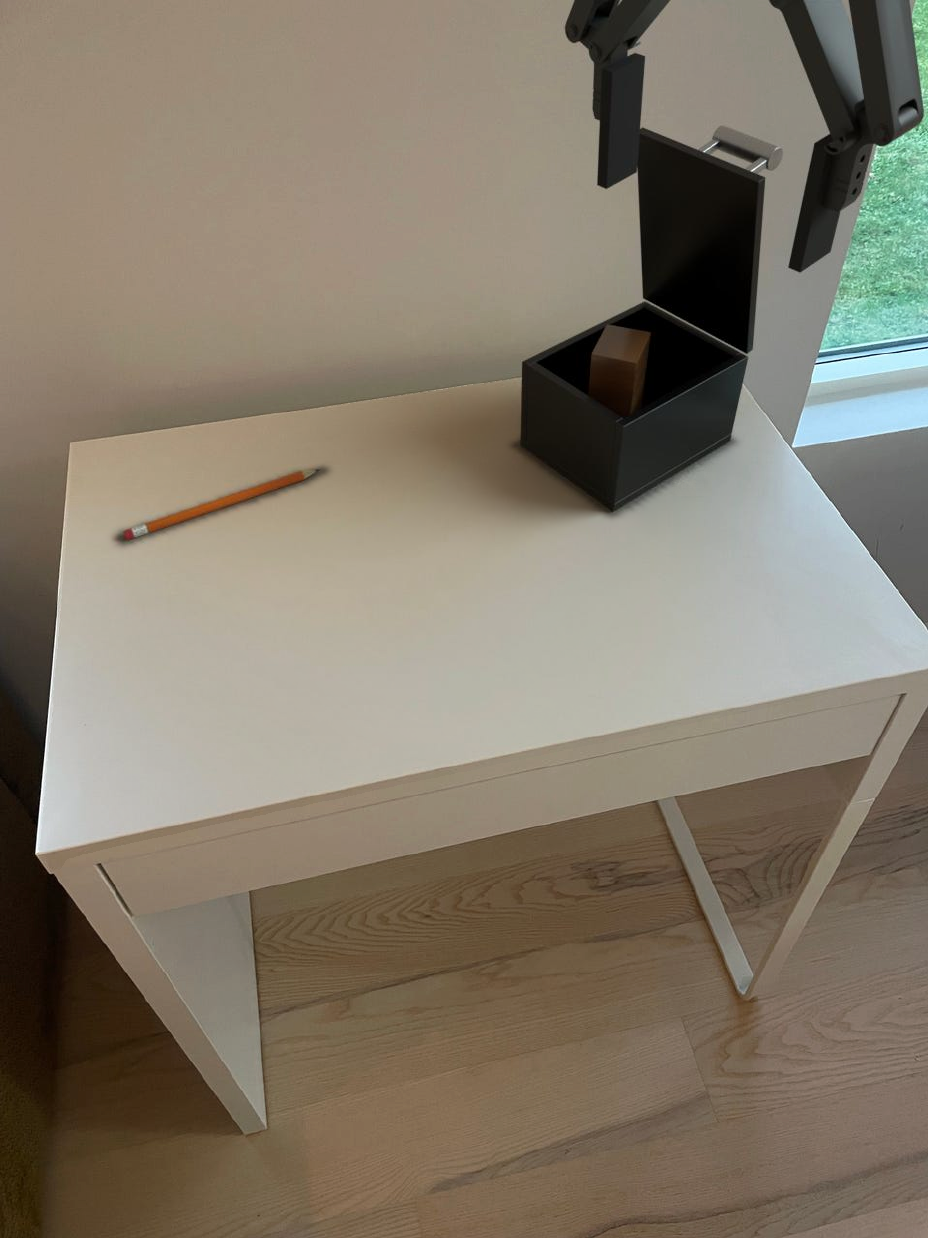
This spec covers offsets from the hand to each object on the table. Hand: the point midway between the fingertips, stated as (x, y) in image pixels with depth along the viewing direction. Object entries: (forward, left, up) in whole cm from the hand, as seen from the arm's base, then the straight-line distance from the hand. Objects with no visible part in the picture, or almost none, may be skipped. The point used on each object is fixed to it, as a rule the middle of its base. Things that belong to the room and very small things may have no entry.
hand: (707, 217), depth 55 cm
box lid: (+22, -13, -15) cm, 30 cm away
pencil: (+25, +30, -33) cm, 51 cm away
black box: (+20, -8, -33) cm, 39 cm away
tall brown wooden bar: (+20, -6, -32) cm, 38 cm away
